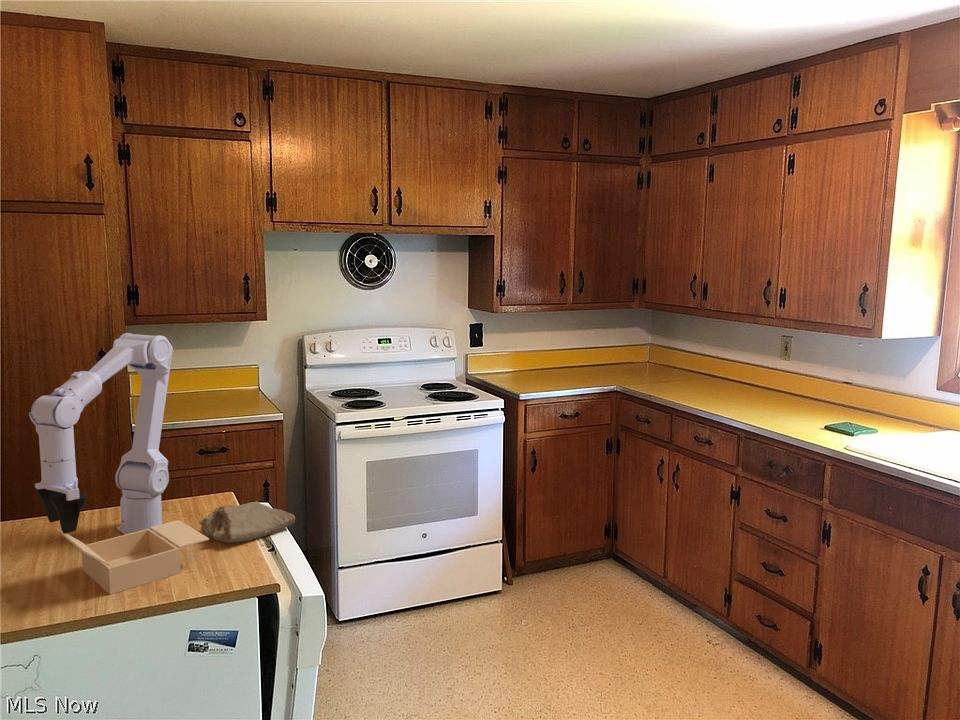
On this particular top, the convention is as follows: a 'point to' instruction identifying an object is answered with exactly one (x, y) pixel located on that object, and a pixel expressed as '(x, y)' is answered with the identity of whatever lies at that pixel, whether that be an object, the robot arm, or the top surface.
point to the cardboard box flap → (82, 547)
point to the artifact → (244, 522)
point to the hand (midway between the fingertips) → (62, 526)
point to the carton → (139, 556)
